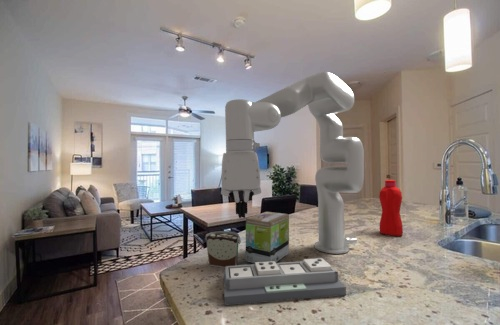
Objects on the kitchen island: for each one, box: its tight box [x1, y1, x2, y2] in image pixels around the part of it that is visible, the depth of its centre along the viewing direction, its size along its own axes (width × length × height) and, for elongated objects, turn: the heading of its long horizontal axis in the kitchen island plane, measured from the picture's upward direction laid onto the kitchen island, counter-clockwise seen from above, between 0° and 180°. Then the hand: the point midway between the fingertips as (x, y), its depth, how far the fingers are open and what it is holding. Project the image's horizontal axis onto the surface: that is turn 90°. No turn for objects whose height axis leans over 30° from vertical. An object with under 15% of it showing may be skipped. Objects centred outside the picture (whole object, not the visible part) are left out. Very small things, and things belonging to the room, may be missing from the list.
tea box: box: [244, 211, 290, 264], centre depth 85 cm, size 15×10×15 cm, turn 148°
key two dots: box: [230, 267, 253, 278], centre depth 63 cm, size 6×6×2 cm
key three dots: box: [303, 257, 332, 272], centre depth 66 cm, size 6×6×2 cm
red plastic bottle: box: [378, 179, 404, 237], centre depth 113 cm, size 9×11×25 cm
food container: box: [204, 230, 242, 268], centre depth 80 cm, size 12×6×10 cm, turn 71°
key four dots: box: [255, 261, 280, 276], centre depth 64 cm, size 6×6×2 cm
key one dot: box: [280, 264, 306, 274], centre depth 65 cm, size 6×6×2 cm
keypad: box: [222, 260, 347, 306], centre depth 65 cm, size 30×14×4 cm, turn 97°
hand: (241, 216), depth 64 cm, fingers closed
